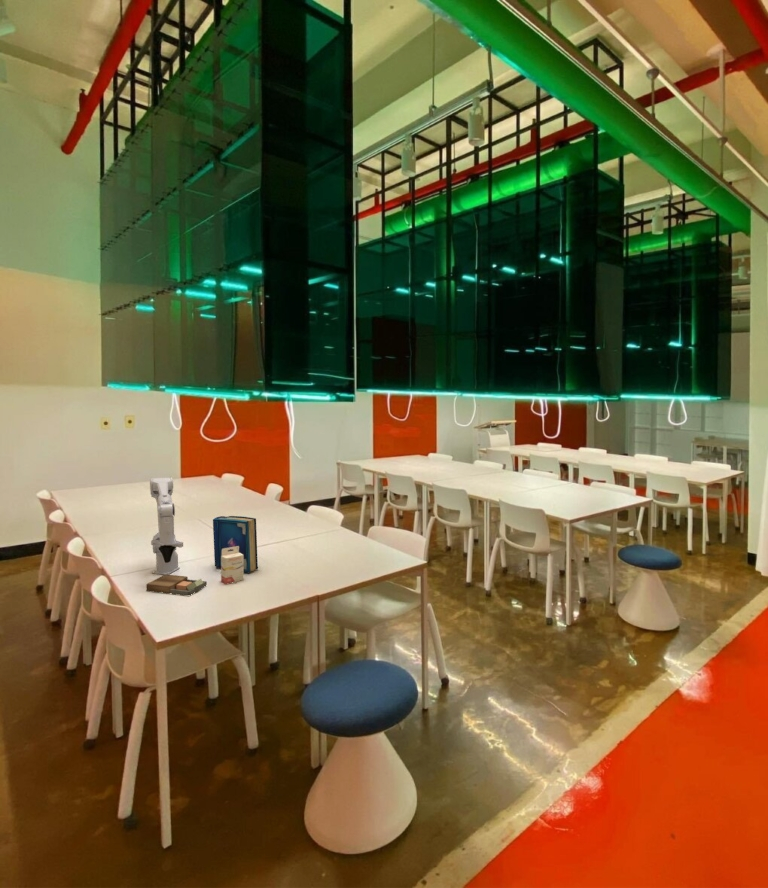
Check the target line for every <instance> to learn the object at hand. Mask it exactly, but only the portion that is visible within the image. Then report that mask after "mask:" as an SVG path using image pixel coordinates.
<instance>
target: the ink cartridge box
mask: <svg viewBox="0 0 768 888" xmlns="http://www.w3.org/2000/svg"><path fill="white" fill-rule="evenodd" d="M230 549H231V550H232V549H233V551H229V552H228V550H230ZM220 569H221V570H220V574H221V575H220V576H221V577H220V580H221V582H222V583H223V584H225V585H228V584H227V583H229V584H232V582H233V583H237V582H241V581H240V580H242V581H244V574H245V572H244V556H243V554H241V553H239V546H236V547H230V548H224V549H222V556H221V568H220ZM236 581H237V582H236Z"/></svg>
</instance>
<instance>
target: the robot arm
mask: <svg viewBox="0 0 768 888" xmlns="http://www.w3.org/2000/svg"><path fill="white" fill-rule="evenodd" d="M149 490H150V491H149V492H150V495H151V498H153V499H155V501H156V506H157V507H156V509H157V524H158V532H156V533H155V534H154V535H153V536H152V540H150V545H151V546H152V552H153V554H155V560H156V562H155V563H156V565H155V566H156V567H155V568H156V570H155V571H152V574H155V575H161V576H163V575H165V574H167V575H171V574H172V573H174V572H176V571H178V570H180V569H181V568H180V566H179V554H178V552H177V551H176V550H177V548H179V549H181V548H182V547H184V542H183V541H180V540H177V539H176V534H175V515H176V506H175V503H174V502H173V498H172V495H173V493H174V492H173V491H174V478H173V477H172V476H170V477H153V478H152V477H151V478H150V479H149Z"/></svg>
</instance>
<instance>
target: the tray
mask: <svg viewBox="0 0 768 888" xmlns="http://www.w3.org/2000/svg"><path fill="white" fill-rule="evenodd" d="M197 580H198V579H188V580H187V582H192V583H194V582H195V581H197ZM202 581H203V583H202V584H200V585H199V586H197V587H195V588H193V589H191V590H189V591H188V590H186V591H185V590H175V589H170V593H172V594H171V595H176V594H180V595H179V596H184V595H190V596H192V595H194V594H195V593H197V592H198V590H199V589H200V590H201V588H202V589H203V588H205V587H207V586H206V585H207V581H206V580H202ZM204 586H205V587H204ZM200 590H199V591H200ZM196 591H197V592H196ZM194 592H195V593H194ZM193 593H194V594H193ZM191 594H192V595H191Z"/></svg>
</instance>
